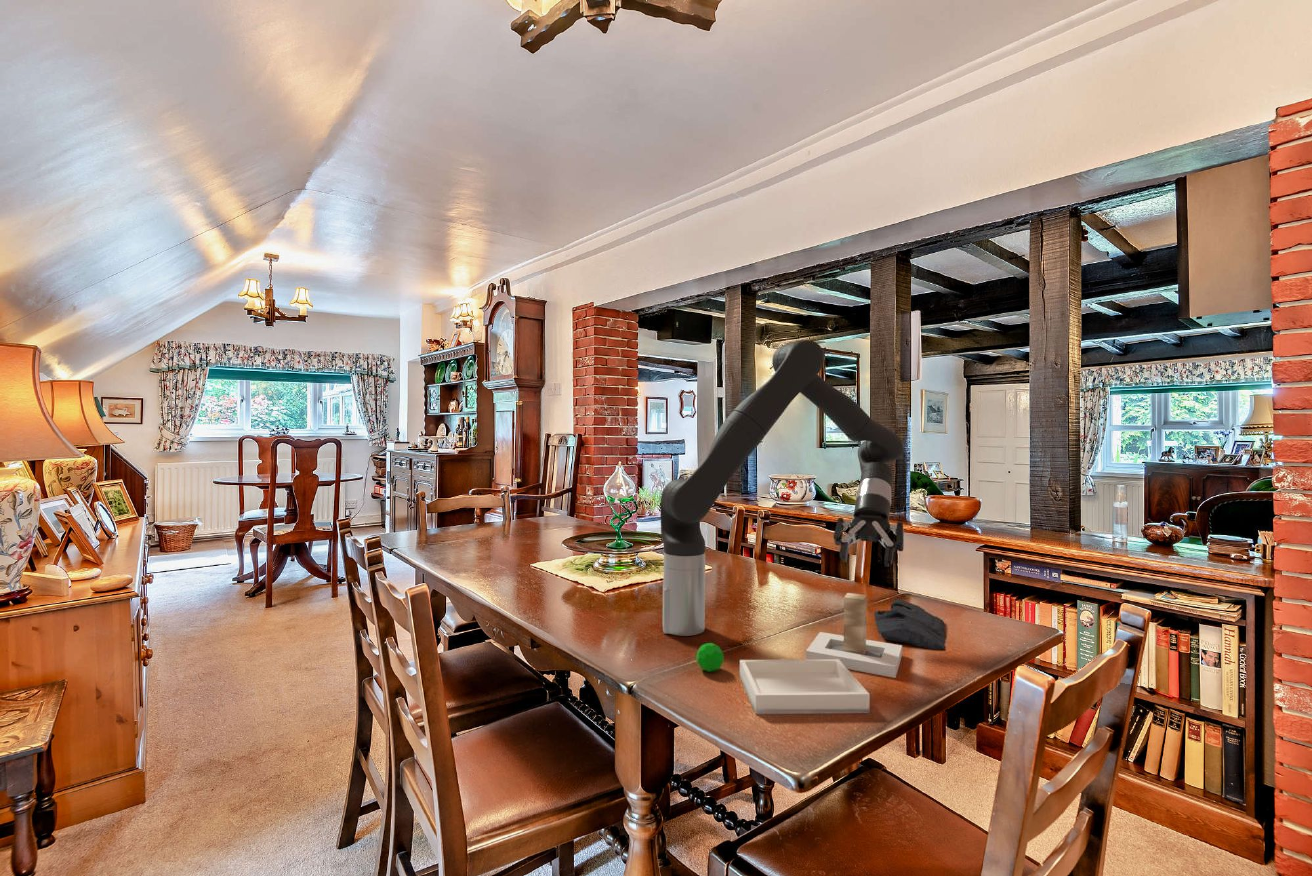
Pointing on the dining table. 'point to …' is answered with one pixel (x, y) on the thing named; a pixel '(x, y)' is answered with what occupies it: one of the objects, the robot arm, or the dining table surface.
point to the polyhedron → (710, 657)
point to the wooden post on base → (855, 626)
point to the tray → (802, 687)
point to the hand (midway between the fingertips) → (865, 562)
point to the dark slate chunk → (911, 626)
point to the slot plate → (858, 655)
